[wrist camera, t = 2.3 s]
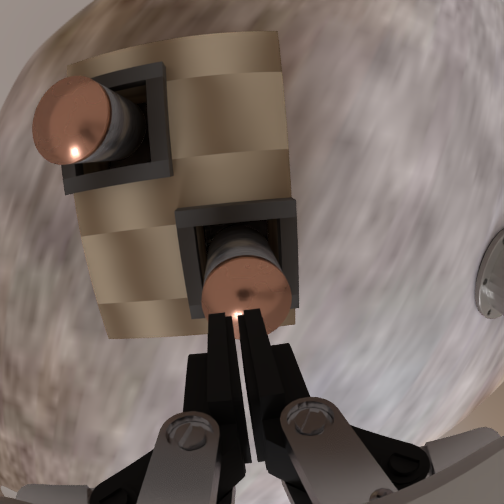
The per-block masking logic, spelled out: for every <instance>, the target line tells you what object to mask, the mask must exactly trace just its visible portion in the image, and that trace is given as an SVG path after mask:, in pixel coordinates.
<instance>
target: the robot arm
mask: <svg viewBox="0 0 504 504" xmlns="http://www.w3.org/2000/svg"><path fill="white" fill-rule="evenodd" d="M475 301H476V306H477V308H478V311H479V312H480V313H481V314H482V315H483V316H485V317H486V318H489V319H495V318H498V317H500V316H502V315H504V229H503V230H502V231H500V232H499V233H498V235H497V236H496V237H495V238H494V239H493V241H492V242H491V244H490V245H489V247H488V249H487V251H486V253H485V255H484V258H483V260H482V262H481V265H480V269H479V272H478V276H477V280H476V288H475ZM237 318H238V326H239V335H240V343H241V352H242V360H243V368H244V376H245V383H246V390H247V397H248V403H249V410H250V416H251V423H252V429H253V435H254V442H255V448H256V454H257V460H258V462H262V461H265V464H266V469H267V470H268V473H270V474H272V475H273V476H275V477H277V478H279V479H281V481H282V485H283V487H284V489H285V492H286V494H287V496H288V498H289V501H290V503H291V504H504V436H502V437H501V436H500V435H499V434H498V432H496V431H495V430H493V429H491V428H487V427H481V428H477V429H474V430H471V431H467V432H464V433H461V434H458V435H454V436H450V437H446V438H442V439H438V440H434V441H430V442H426V444H425V445H424V446H421V447H418V446H416V445H413V444H410V443H407V442H403V441H399V440H396V439H392V438H389V437H386V436H382V435H379V434H376V433H373V432H369V431H366V430H363V429H360V428H357V427H354V426H351V425H350V424H349V423H348V422H347V420H346V419H345V417H344V416H343V415H342V413H341V412H340V410H339V409H338V408H337V407H336V406H335V405H334V404H333V403H332V402H330V401H328V400H326V399H322V398H318V397H310V395H309V392H308V390H307V387H306V385H305V382H304V380H303V377H302V374H301V372H300V369H299V367H298V364H297V361H296V359H295V356H294V354H293V351H292V349H291V346H290V344H289V343H286V344H279V345H272V346H271V345H270V342H269V338H268V335H267V331H266V328H265V324H264V321H263V318H262V314H261V311H260V308H258V309H249V310H243V315H237ZM245 463H252V460H251V453H250V446H249V439H248V432H247V425H246V418H245V411H244V404H243V396H242V389H241V381H240V374H239V366H238V359H237V351H236V344H235V336H234V328H233V320H232V316H226V315H225V312H223V313H213V314H208V352H207V353H201V354H189V356H188V363H187V373H186V384H185V395H184V407H183V413H179V414H176V415H174V416H172V417H170V418H169V419H168V420H167V421H166V422H165V423H164V424H163V426H162V427H161V429H160V432H159V435H158V438H157V441H156V444H155V447H154V449H153V450H152V451H150V452H149V453H147V454H146V455H144V456H143V457H141V458H140V459H138V460H137V461H135V462H134V463H132V464H131V465H129V466H127V467H126V468H124V469H123V470H121V471H120V472H118V473H116V474H115V475H113V476H112V477H110V478H108V479H107V480H105V481H103V482H102V483H100V484H99V485H98V486H97V487H95V488H89V487H88V486H87V485H44V484H27V485H25V486H23V487H21V489H20V490H19V491H18V492H17V496H16V499H13V498H8V497H3V496H0V504H235V494H236V487H235V485H236V484H237V483H238V482H239V481H241V480H242V479H243V478H244V477H245V473H246V469H245Z"/></svg>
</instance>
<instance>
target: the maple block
mask: <svg viewBox="0 0 504 504" xmlns="http://www.w3.org/2000/svg"><path fill="white" fill-rule="evenodd" d="M70 76H85V77H88V78H90V79H92V80H94V81H96V82H98V83H100V84H101V85H103V86H105V87H107V88H109V89H110V90H112V91H114V92H116V93H118V94H119V95H121V96H123V97H125V98H126V99H128V100H130V101H132V102H133V103H135V104H139V103H145V102H147V114H148V128H149V141H150V152H151V162H149V163H142V164H136V165H131V166H125V167H119V168H114V169H111V168H110V161H102V162H88V163H77V164H66V165H61V166H62V175H63V184H64V191H65V195H69V194H73V193H74V199H75V206H76V212H77V218H78V223H79V229H80V234H81V239H82V244H83V248H84V253H85V257H86V262H87V266H88V270H89V274H90V278H91V282H92V285H93V289H94V293H95V296H96V300H97V303H98V306H99V310H100V313H101V316H102V319H103V323H104V326H105V329H106V332H107V335H108V338H109V339H127V338H153V337H172V336H188V335H201V334H208V321H207V319H206V318H205V315H204V313H203V309H202V303H201V300H202V291H203V284H204V277H205V270H206V263H207V253H206V245H205V237H204V228H203V226H204V225H214V224H224V223H234V222H244V221H255V220H266V219H267V232H268V244H269V246H270V248H271V250H272V252H273V254H274V256H275V258H276V260H277V262H278V264H279V265H280V267H281V269H282V271H283V273H284V275H285V277H286V279H287V281H288V284H289V286H290V289H291V295H292V302H291V307H290V310H289V313H288V315H287V317H286V319H285V320H284V322H283V323H282V324H281V325H280V326H286V325H294V324H295V308H299V275H298V238H297V213H296V200H295V199H293V198H292V197H291V181H290V164H289V149H288V135H287V122H286V110H285V99H284V88H283V77H282V67H281V58H280V48H279V40H278V31H248V32H228V33H215V34H205V35H196V36H188V37H181V38H174V39H168V40H162V41H157V42H151V43H146V44H142V45H137V46H133V47H128V48H124V49H120V50H116V51H113V52H109V53H105V54H102V55H99V56H95V57H92V58H89V59H86V60H83V61H80V62H77V63H74V64H71V65H68V66H67V77H70Z"/></svg>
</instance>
